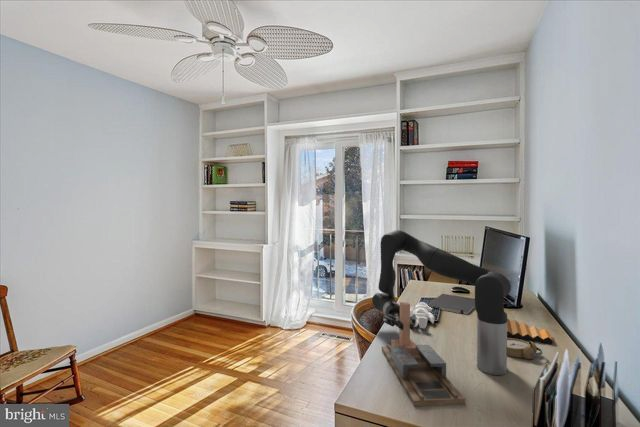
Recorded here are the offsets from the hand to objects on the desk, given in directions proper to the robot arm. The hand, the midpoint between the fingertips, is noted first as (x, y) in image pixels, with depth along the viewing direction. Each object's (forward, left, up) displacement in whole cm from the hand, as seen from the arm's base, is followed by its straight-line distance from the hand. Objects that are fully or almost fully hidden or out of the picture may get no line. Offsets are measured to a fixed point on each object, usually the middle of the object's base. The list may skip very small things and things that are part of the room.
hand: (407, 327), depth 122 cm
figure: (-43, -10, -12) cm, 45 cm away
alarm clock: (-30, +33, -12) cm, 46 cm away
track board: (+8, +6, -12) cm, 16 cm away
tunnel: (+8, +6, -10) cm, 15 cm away
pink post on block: (-2, -2, -10) cm, 11 cm away
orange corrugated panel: (-57, +29, -13) cm, 65 cm away
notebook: (-80, -4, -13) cm, 81 cm away
